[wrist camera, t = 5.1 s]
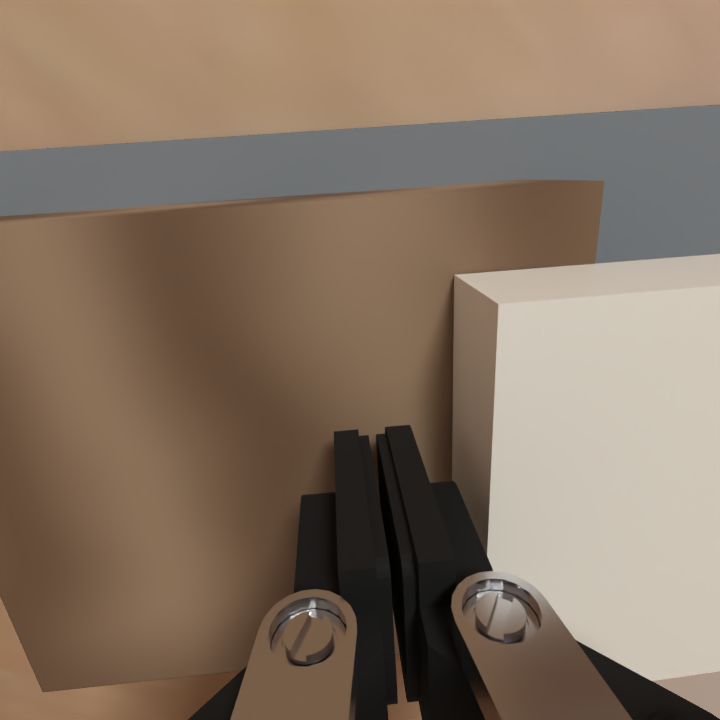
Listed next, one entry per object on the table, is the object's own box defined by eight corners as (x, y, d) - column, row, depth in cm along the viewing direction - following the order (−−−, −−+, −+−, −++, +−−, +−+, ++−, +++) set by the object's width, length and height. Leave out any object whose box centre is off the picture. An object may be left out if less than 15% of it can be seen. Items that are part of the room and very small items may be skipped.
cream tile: (738, 252, 10) (863, 273, 8) (665, 585, 13) (738, 668, 11) (453, 274, 10) (498, 304, 7) (450, 612, 13) (480, 705, 10)
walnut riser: (518, 179, 13) (604, 181, 9) (500, 529, 18) (553, 637, 13) (-3, 216, 13) (-160, 234, 9) (111, 567, 17) (42, 692, 13)
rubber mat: (1054, 84, 13) (1076, 81, 13) (878, 523, 19) (889, 530, 18) (-63, 157, 12) (-76, 156, 12) (93, 602, 18) (88, 611, 17)
